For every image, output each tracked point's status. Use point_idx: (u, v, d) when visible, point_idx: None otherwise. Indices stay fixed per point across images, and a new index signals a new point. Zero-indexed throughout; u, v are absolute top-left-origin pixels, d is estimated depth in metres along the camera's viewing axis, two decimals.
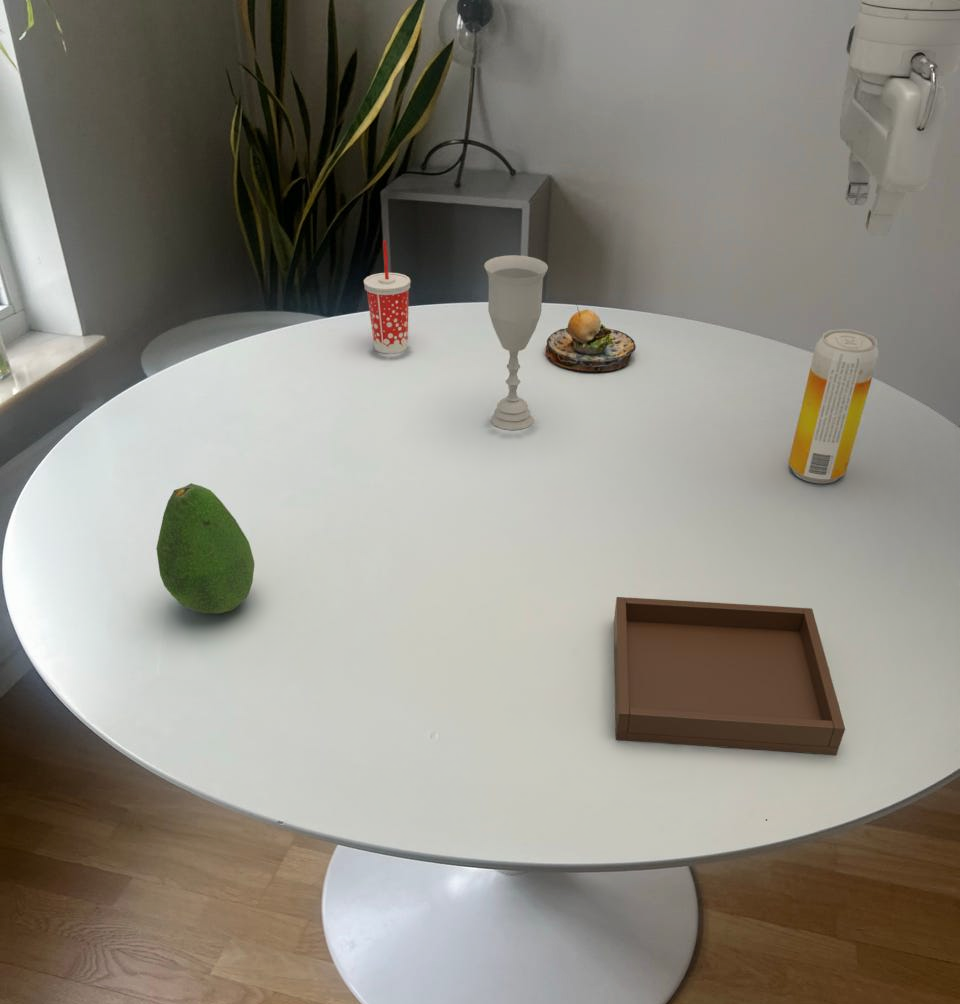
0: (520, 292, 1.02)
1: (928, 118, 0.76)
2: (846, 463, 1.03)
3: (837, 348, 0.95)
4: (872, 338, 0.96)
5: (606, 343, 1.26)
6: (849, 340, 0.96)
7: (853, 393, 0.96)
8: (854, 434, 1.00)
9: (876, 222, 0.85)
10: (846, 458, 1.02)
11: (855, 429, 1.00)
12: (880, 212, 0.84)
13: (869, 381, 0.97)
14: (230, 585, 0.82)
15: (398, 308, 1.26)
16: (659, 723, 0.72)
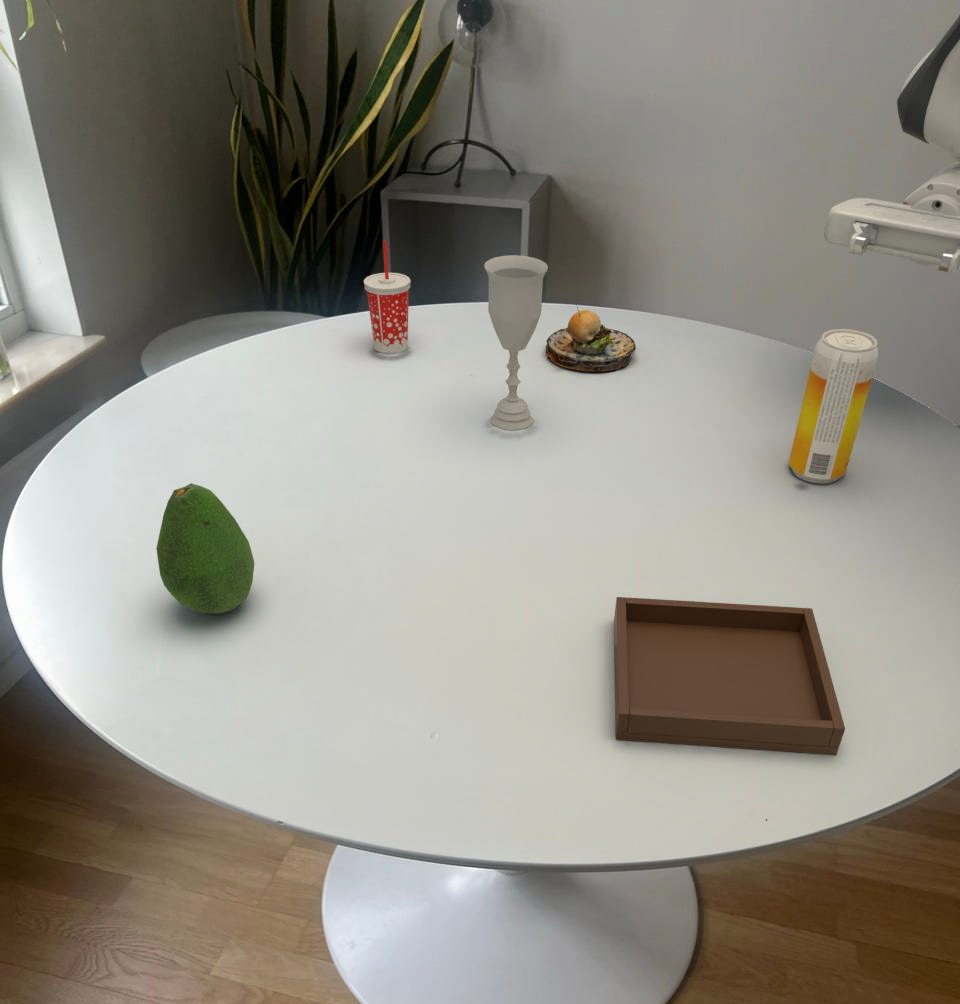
0: (520, 292, 1.02)
1: None
2: (846, 463, 1.03)
3: (837, 348, 0.95)
4: (872, 338, 0.96)
5: (606, 343, 1.26)
6: (849, 340, 0.96)
7: (853, 393, 0.96)
8: (854, 434, 1.00)
9: None
10: (846, 458, 1.02)
11: (855, 429, 1.00)
12: None
13: (869, 381, 0.97)
14: (230, 585, 0.82)
15: (398, 308, 1.26)
16: (659, 723, 0.72)
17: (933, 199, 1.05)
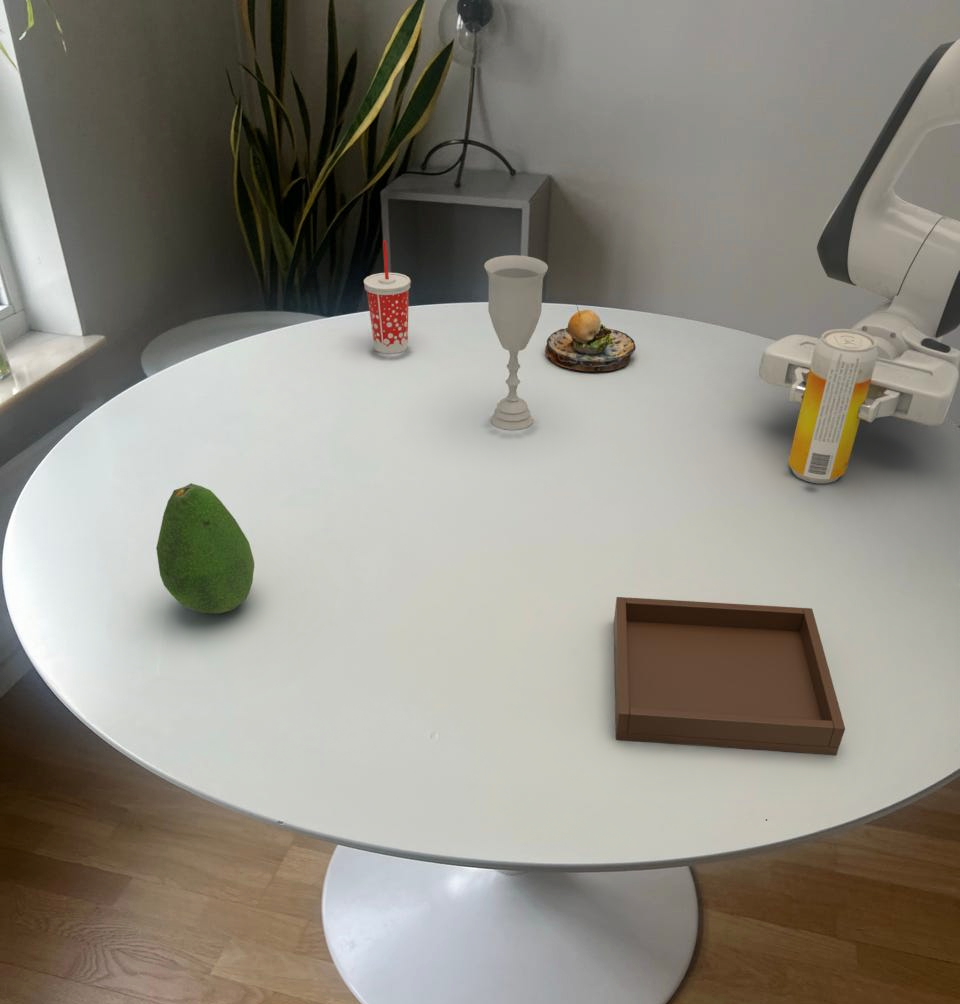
0: (520, 292, 1.02)
1: None
2: (846, 463, 1.03)
3: (836, 348, 0.95)
4: (871, 338, 0.96)
5: (606, 343, 1.26)
6: (848, 340, 0.96)
7: (853, 393, 0.96)
8: (854, 434, 1.00)
9: None
10: (846, 458, 1.02)
11: (855, 429, 1.00)
12: None
13: (868, 381, 0.97)
14: (230, 585, 0.82)
15: (398, 308, 1.26)
16: (659, 723, 0.72)
17: None
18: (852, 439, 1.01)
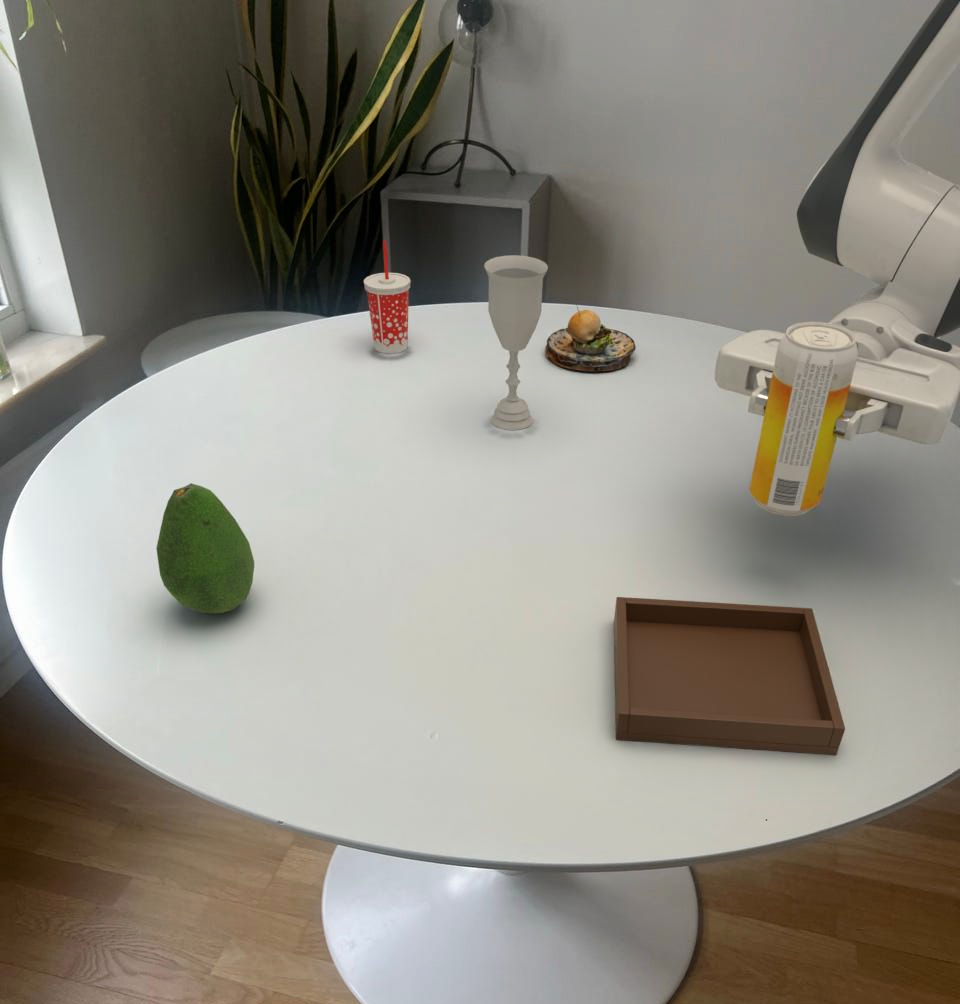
0: (520, 292, 1.02)
1: None
2: (820, 491, 0.82)
3: (805, 347, 0.74)
4: (850, 333, 0.75)
5: (606, 343, 1.26)
6: (820, 336, 0.75)
7: (826, 404, 0.76)
8: (829, 455, 0.79)
9: None
10: (820, 484, 0.81)
11: (830, 449, 0.79)
12: None
13: (847, 388, 0.76)
14: (230, 585, 0.82)
15: (398, 308, 1.26)
16: (659, 723, 0.72)
17: None
18: (827, 461, 0.80)
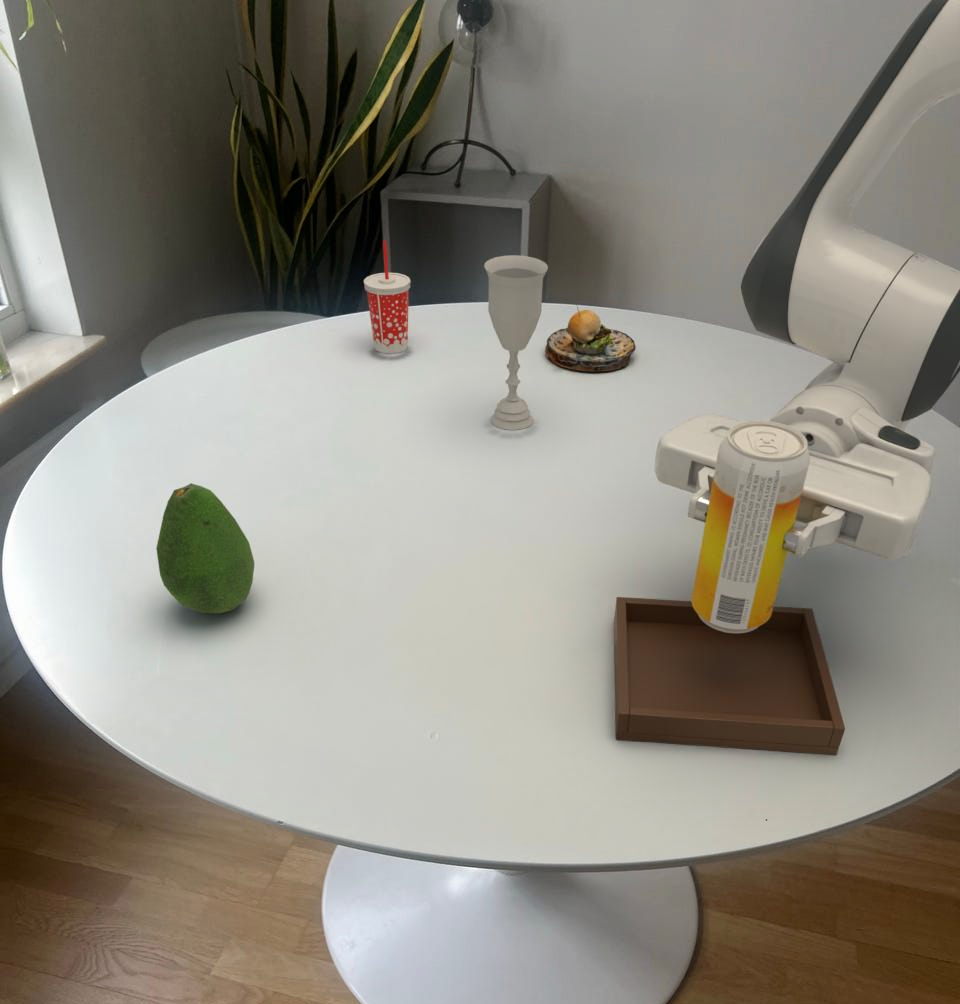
0: (520, 292, 1.02)
1: None
2: (770, 607, 0.72)
3: (747, 455, 0.64)
4: (801, 436, 0.65)
5: (606, 343, 1.26)
6: (766, 441, 0.65)
7: (773, 518, 0.66)
8: (779, 569, 0.69)
9: None
10: (769, 600, 0.71)
11: (780, 563, 0.69)
12: None
13: (797, 499, 0.66)
14: (230, 585, 0.82)
15: (398, 308, 1.26)
16: (659, 723, 0.72)
17: (802, 431, 0.74)
18: (777, 576, 0.70)
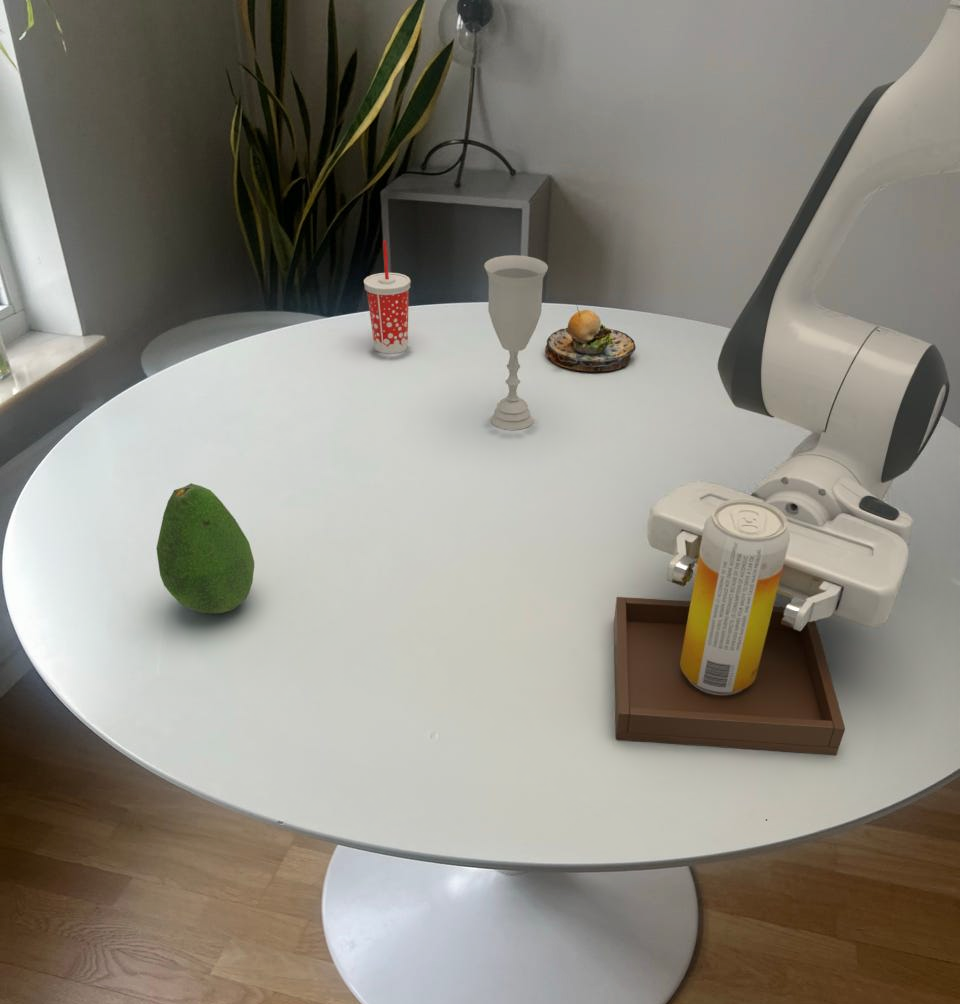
0: (520, 292, 1.02)
1: None
2: (754, 671, 0.76)
3: (730, 534, 0.68)
4: (781, 515, 0.69)
5: (606, 343, 1.26)
6: (748, 520, 0.69)
7: (755, 592, 0.69)
8: (762, 637, 0.73)
9: None
10: (753, 666, 0.75)
11: (763, 632, 0.73)
12: None
13: (778, 574, 0.70)
14: (230, 585, 0.82)
15: (398, 308, 1.26)
16: (659, 723, 0.72)
17: (787, 501, 0.77)
18: (760, 643, 0.74)
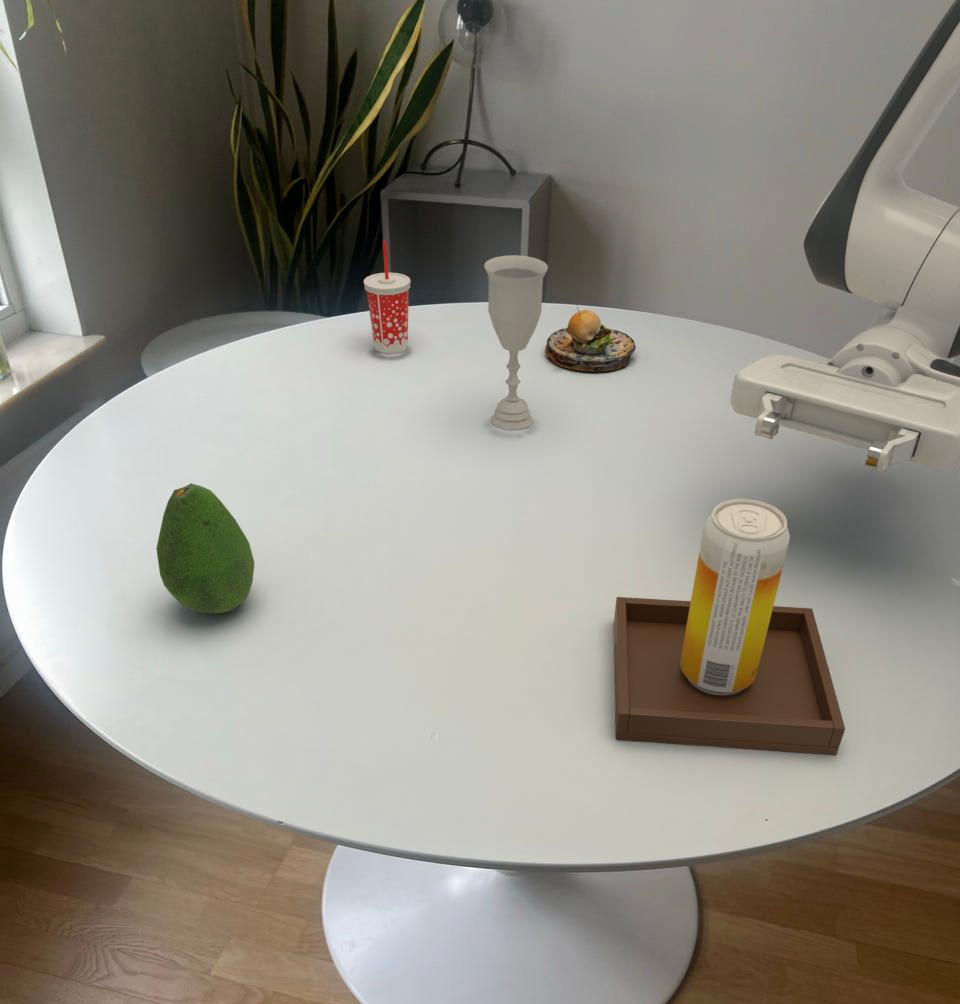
0: (520, 292, 1.02)
1: None
2: (754, 671, 0.76)
3: (730, 534, 0.68)
4: (781, 515, 0.69)
5: (606, 343, 1.26)
6: (748, 520, 0.69)
7: (755, 592, 0.69)
8: (762, 637, 0.73)
9: None
10: (753, 666, 0.75)
11: (763, 632, 0.73)
12: None
13: (778, 574, 0.70)
14: (230, 585, 0.82)
15: (398, 308, 1.26)
16: (659, 723, 0.72)
17: (863, 364, 0.84)
18: (760, 643, 0.74)
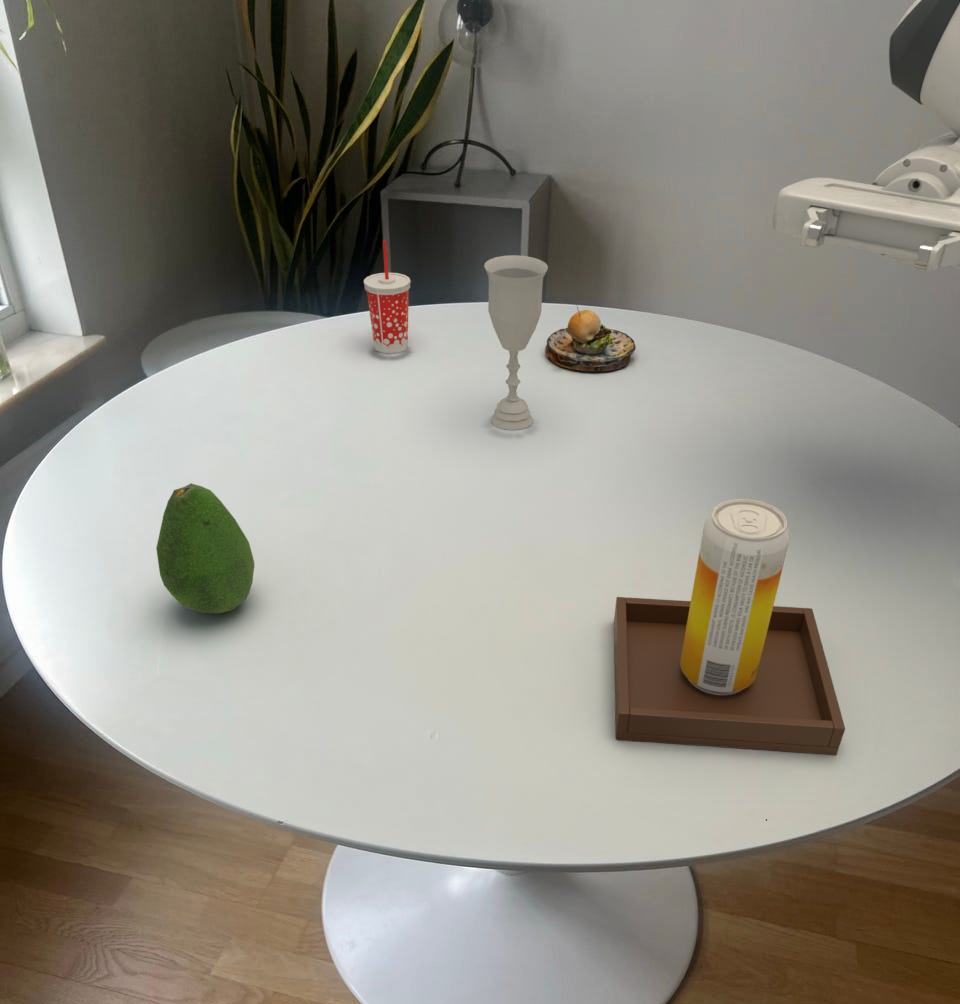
0: (520, 292, 1.02)
1: None
2: (754, 671, 0.76)
3: (730, 534, 0.68)
4: (781, 515, 0.69)
5: (606, 343, 1.26)
6: (748, 520, 0.69)
7: (755, 592, 0.69)
8: (762, 637, 0.73)
9: None
10: (753, 666, 0.75)
11: (763, 632, 0.73)
12: None
13: (778, 574, 0.70)
14: (230, 585, 0.82)
15: (398, 308, 1.26)
16: (659, 723, 0.72)
17: (910, 178, 0.82)
18: (760, 643, 0.74)
